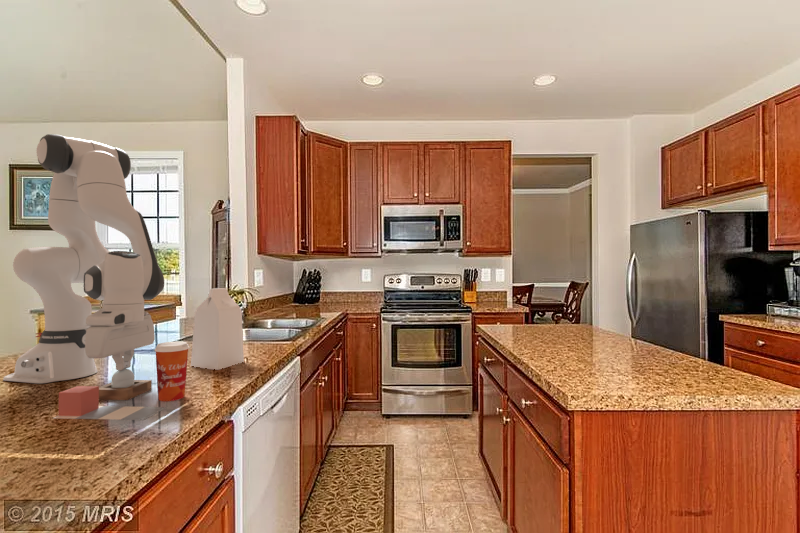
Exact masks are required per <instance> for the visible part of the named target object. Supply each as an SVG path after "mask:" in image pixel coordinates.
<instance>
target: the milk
mask: <svg viewBox="0 0 800 533" xmlns="http://www.w3.org/2000/svg"><path fill="white" fill-rule="evenodd" d="M193 317H194V318H193V331H192V344H191V345H192V346H191V358H190V367H191V366H194V367H193V368H196V367H200V368H199V369H205V368H207V369H206V370H214V369H215V371H219V370H222V368H223V369H225V368H228V367H232V365H233V366H235V364H236V365H239V364H242V362H243V363H244V362H245V359H244V358H245V357H244V355H245V354H244V338H243V337H244V333H243V332H244V331H243V312H242V308H241V306H239V304H238V303H237V302H235V300H234V299H233V298H232V297H231V296H230V295H229V291H228V289H227V287H224V288H223V287H222V288H220V287H219V288H218V287H216V288H210V289H209V294H208V297H206V299H205V300H204V301H203V302H201V303H200V305H199V306H198V307H197V308H196V309H195V311H194V316H193ZM238 363H239V364H238Z"/></svg>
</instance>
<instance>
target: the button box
mask: <svg viewBox="0 0 800 533" xmlns="http://www.w3.org/2000/svg"><path fill="white" fill-rule="evenodd" d="M152 386H153V384H152V379H151V380H150V379H148V380H147V379H134V385H132V386H130V387H127V388H112V381H111V382H109V383H106V384H104V385H101V386H99V401H129V400H132V399H133V398H136V397H138V396H140V395H143V394H145V393H146V392H149V391H151V390H153V388H152Z"/></svg>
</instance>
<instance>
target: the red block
mask: <svg viewBox="0 0 800 533" xmlns="http://www.w3.org/2000/svg"><path fill="white" fill-rule="evenodd" d="M99 387H100V386H99V385H97V386H96V385H95V386H94V385H89V386H88V385H77V386H74V387H71V388H68V389H66V390H61V391H60V392H58V414H57V416H82V415H84V414H87V413H89V412H91V411H93V410H96V409H98V408H99V406H100V404H99V403H100V400H99Z"/></svg>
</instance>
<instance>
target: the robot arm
mask: <svg viewBox="0 0 800 533" xmlns="http://www.w3.org/2000/svg"><path fill="white" fill-rule="evenodd" d="M36 157H37V161H38V164H40V166H41V167H42V168H43V169H44V170H46V171H49V172H52V173H53V176H52V179H51V182H50V189H49V195H48V196H49V197H48V198H49V199H48V212H47V213H48V217H47V223H48V226H49V227H50V228H51V229H52V230H53V231H54V232H56V233H57V234H59V235H62V236H64V237H65V238H66V240H67V242H68V246H67V247H66V246H65V247H64V246H45V245H44V246H34V247H27V248H26V247H25V248H23V249H22V250H20V251H19V252H18V253H17V254H16V256H15V257H14V259H13V262H12V263H13V264H12V266H13V271H14V273H15V276H16V277H18V279H19V280H20V281H22V282H24V283H26V284H27V285H29V286H30V287H31V288H33V289H34V290H35V291H36V293H37V295H38V296H39V298H40V299H41V301H42V305H43V310H44V311H43V312H44V313H43V314H44V330H43V331H42V332H38V333H35V335H36V336H35V338H39V340H38V343H37V344H35V345H34V346H33V347H31V348H30V349H29V350H26V352H24V353H23V354H21V355H20V356H19V357H18V358H17V359H16V361H15V366H14V372H13V373H12V372H11V373H10V374H7V375H5V376H3V379H2V381H7V382H17V383H28V384H29V383H30V384H38V385H39V384H40V385H41V384H48V383H53V382H59V381H68V380H75V379H79V378H84V377H85V378H86V377H88V376H92V375H94V374H97V373H98V369H97V366H96V362H95V359H104V358H107V357H111V358H112V360H113V361H114V363H115V370H116V371H118V370H123V369H129V368H130V367H131V365H132V364H131V361H132V359H133V357H134V355H135V350H136V349H139V348H143V347H146V346H150V345H151V346H152V345H153V344H154V342H155V339H156V338H155V337H156V336H155V326H154V325H155V324H154V321H153V318H152V315H151V314H150V313H149V312H148V311H145V301H151V300H153V299H155V298H157V296H158V295H160V294H161V293H162V291H164V289H165V288H164V287H165V278H164V274H163V271H162V270H161V267H160V265H159V263H158V261H157V257H156V254H155V250H154V248H153V244H152V241H151V237H150V234H149V230H148V227H147V225H146V221H145V218H144V217H143V215H142V213H141V212H140V211H138V210H137V209H135V208H134V206H133V205H132V203H131V201H130V199H129V198H128V194H127V188H126V181H125V179H127V178H128V177H129V176H130V173H131V172H130V171H131V166H132V163H131V158H130V156H129V154H128V153H127V152H126V151H125V150H123V149H121V148H118V147H115V146H110V145H107V144H104V143H101V142H97V141H95V140H90V139H88V140H87V139H83V138H76V137H70V136H63V135H62V134H55V133H52V134H45V135H44V136H42V137H41V138H40V139H39V141H38V144H37V146H36ZM96 223H100V224H101V225H103V226H108V227H110V228H112V229H114V230H116V231H118V232H120V233H122V234H123V235H125V236H126V237H127V238H128V240H129V242H130V245H131V248H132V251H133V252H132V251H126V250H125V251H124V250H113V251H110V250H108V249H107V248H106V247H105V246H104V244H103V243H102V242H101V240H100V238H99V236H98V232H97V228H96ZM72 284H83V292H84V293H85V294H86V295H87V296H88V297H90V298H91V299H93V300H97V301H102V308H99V309H98V310H97V311H95V312H92V311H93V310H92V309H93V308H92V306H93V305H92V303H91V302H90V300H89V299H87V298H86V297H84V296H81V295H79V294H77V293H76V292H74V290H73V288H72Z"/></svg>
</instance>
